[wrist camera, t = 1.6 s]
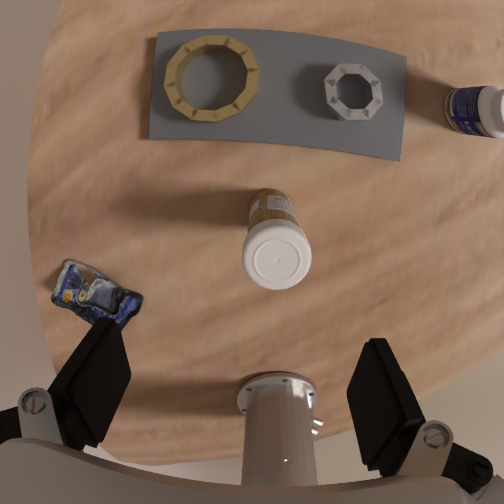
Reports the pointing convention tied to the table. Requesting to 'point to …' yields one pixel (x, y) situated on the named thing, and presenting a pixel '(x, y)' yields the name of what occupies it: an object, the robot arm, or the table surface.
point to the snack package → (94, 296)
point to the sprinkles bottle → (275, 243)
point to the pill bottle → (476, 111)
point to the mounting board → (281, 92)
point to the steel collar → (364, 79)
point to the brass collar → (197, 49)
